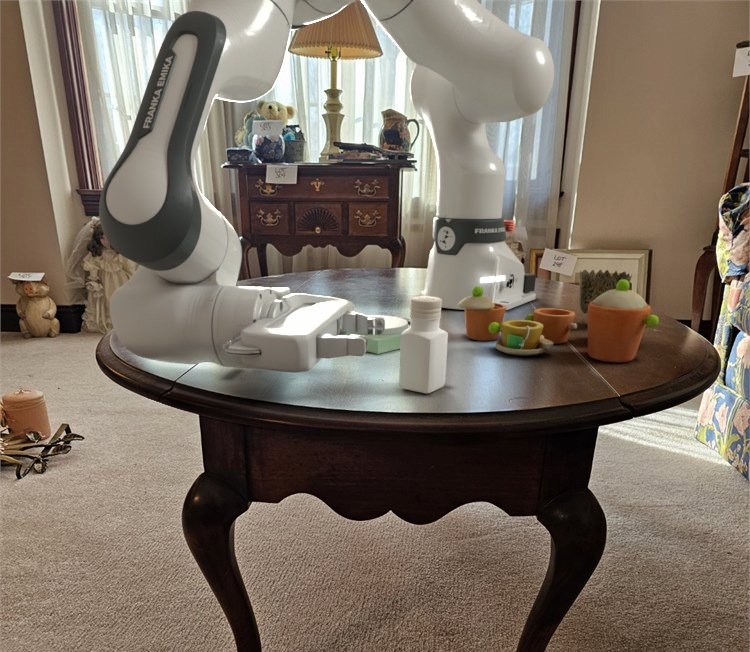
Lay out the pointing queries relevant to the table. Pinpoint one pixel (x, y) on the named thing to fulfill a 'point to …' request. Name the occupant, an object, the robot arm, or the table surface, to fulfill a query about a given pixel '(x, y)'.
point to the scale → (386, 334)
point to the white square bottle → (423, 347)
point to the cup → (597, 285)
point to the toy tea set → (564, 325)
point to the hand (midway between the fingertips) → (375, 335)
